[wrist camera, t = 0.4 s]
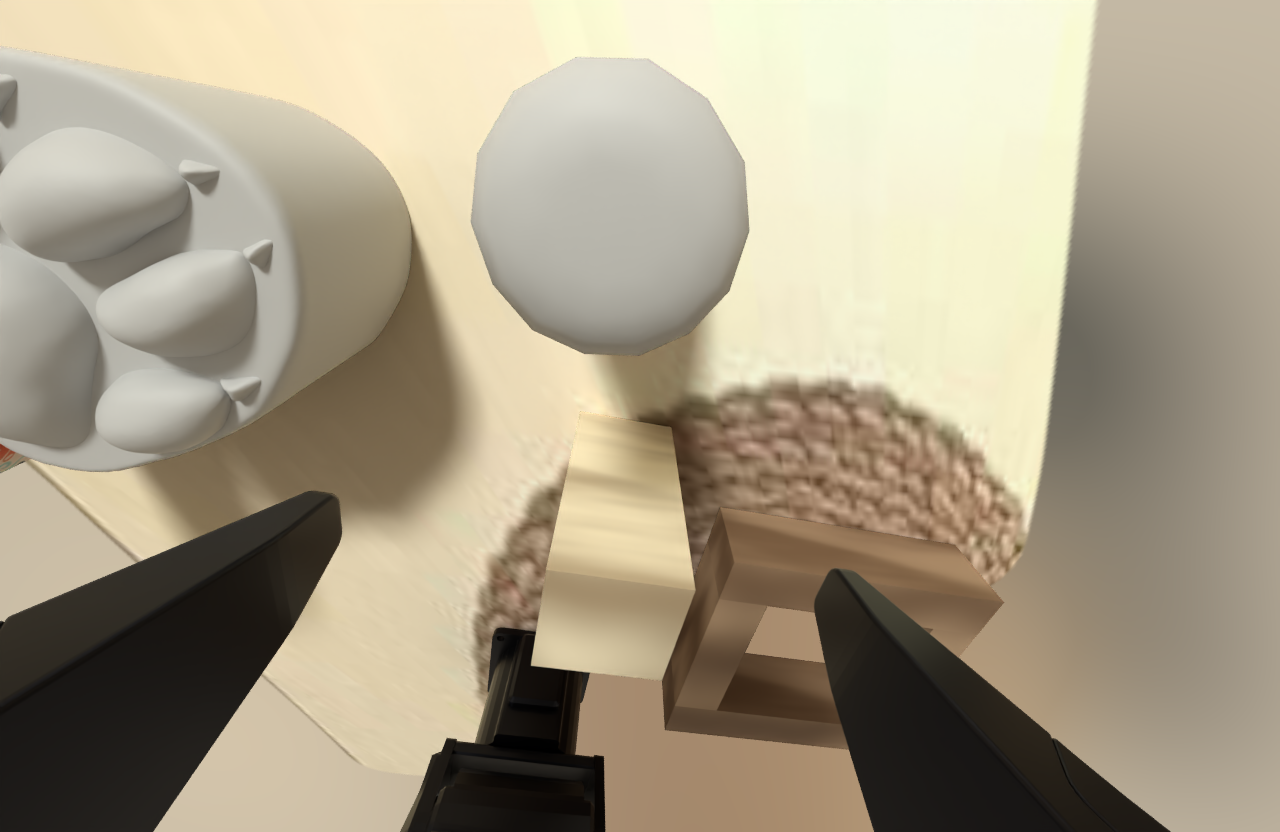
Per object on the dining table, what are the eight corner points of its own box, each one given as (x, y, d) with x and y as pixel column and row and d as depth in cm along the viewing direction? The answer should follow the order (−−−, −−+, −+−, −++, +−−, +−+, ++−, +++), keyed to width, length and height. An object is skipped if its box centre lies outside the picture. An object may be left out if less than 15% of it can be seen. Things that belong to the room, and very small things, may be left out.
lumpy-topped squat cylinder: (20, 174, 17) (-457, 179, 10) (307, 21, 15) (-10, -123, 8) (225, 405, 22) (10, 531, 14) (467, 311, 20) (366, 398, 12)
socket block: (853, 690, 33) (879, 752, 30) (661, 667, 32) (665, 730, 28) (954, 544, 27) (1004, 602, 23) (720, 507, 25) (734, 562, 22)
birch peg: (651, 499, 25) (661, 680, 16) (567, 485, 24) (531, 665, 16) (671, 427, 23) (695, 590, 14) (580, 411, 22) (546, 569, 14)
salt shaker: (674, 285, 20) (732, 450, 8) (538, 249, 19) (391, 376, 7) (720, 127, 17) (901, 42, 5) (564, 78, 16) (398, -138, 5)
